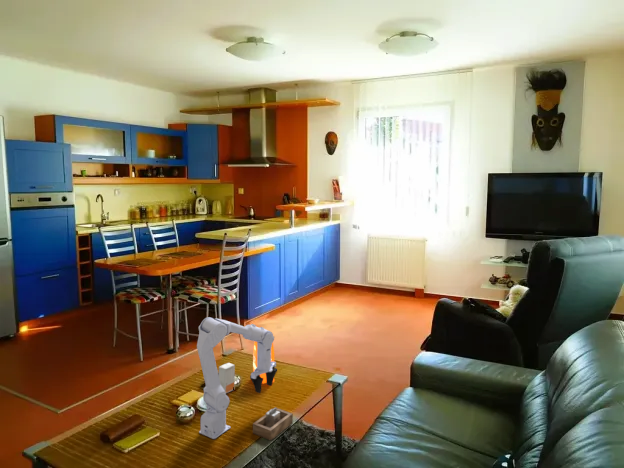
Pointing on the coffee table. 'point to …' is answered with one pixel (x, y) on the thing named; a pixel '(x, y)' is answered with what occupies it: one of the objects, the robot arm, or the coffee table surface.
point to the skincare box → (227, 376)
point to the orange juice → (256, 360)
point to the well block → (272, 432)
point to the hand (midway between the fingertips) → (263, 388)
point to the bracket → (272, 417)
